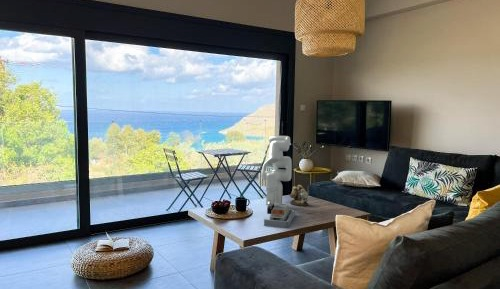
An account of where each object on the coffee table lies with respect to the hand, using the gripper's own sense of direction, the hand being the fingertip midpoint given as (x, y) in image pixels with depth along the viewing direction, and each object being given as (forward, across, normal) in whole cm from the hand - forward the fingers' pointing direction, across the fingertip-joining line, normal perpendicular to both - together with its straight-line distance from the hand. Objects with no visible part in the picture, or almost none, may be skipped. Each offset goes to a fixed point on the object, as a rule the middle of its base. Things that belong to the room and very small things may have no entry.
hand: (270, 212), depth 275 cm
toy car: (+6, 0, +7) cm, 9 cm away
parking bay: (+5, 0, +7) cm, 9 cm away
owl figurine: (+6, -49, +14) cm, 51 cm away
